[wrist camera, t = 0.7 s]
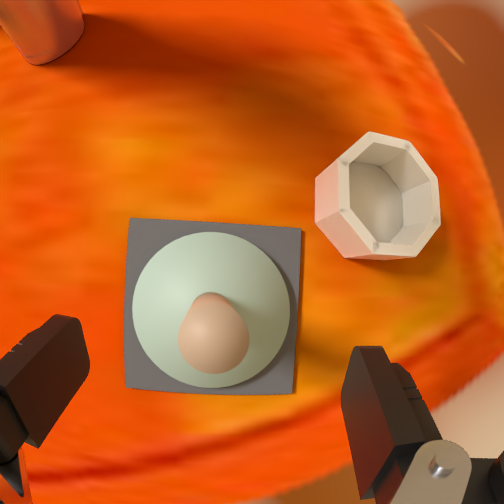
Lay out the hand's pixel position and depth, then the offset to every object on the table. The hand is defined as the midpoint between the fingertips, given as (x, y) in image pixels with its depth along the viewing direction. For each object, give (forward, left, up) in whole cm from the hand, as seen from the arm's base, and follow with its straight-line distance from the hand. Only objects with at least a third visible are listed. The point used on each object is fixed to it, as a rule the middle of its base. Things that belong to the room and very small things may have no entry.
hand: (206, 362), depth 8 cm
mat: (+1, 0, -21) cm, 21 cm away
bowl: (-10, +15, -21) cm, 28 cm away
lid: (+1, 0, -20) cm, 20 cm away
